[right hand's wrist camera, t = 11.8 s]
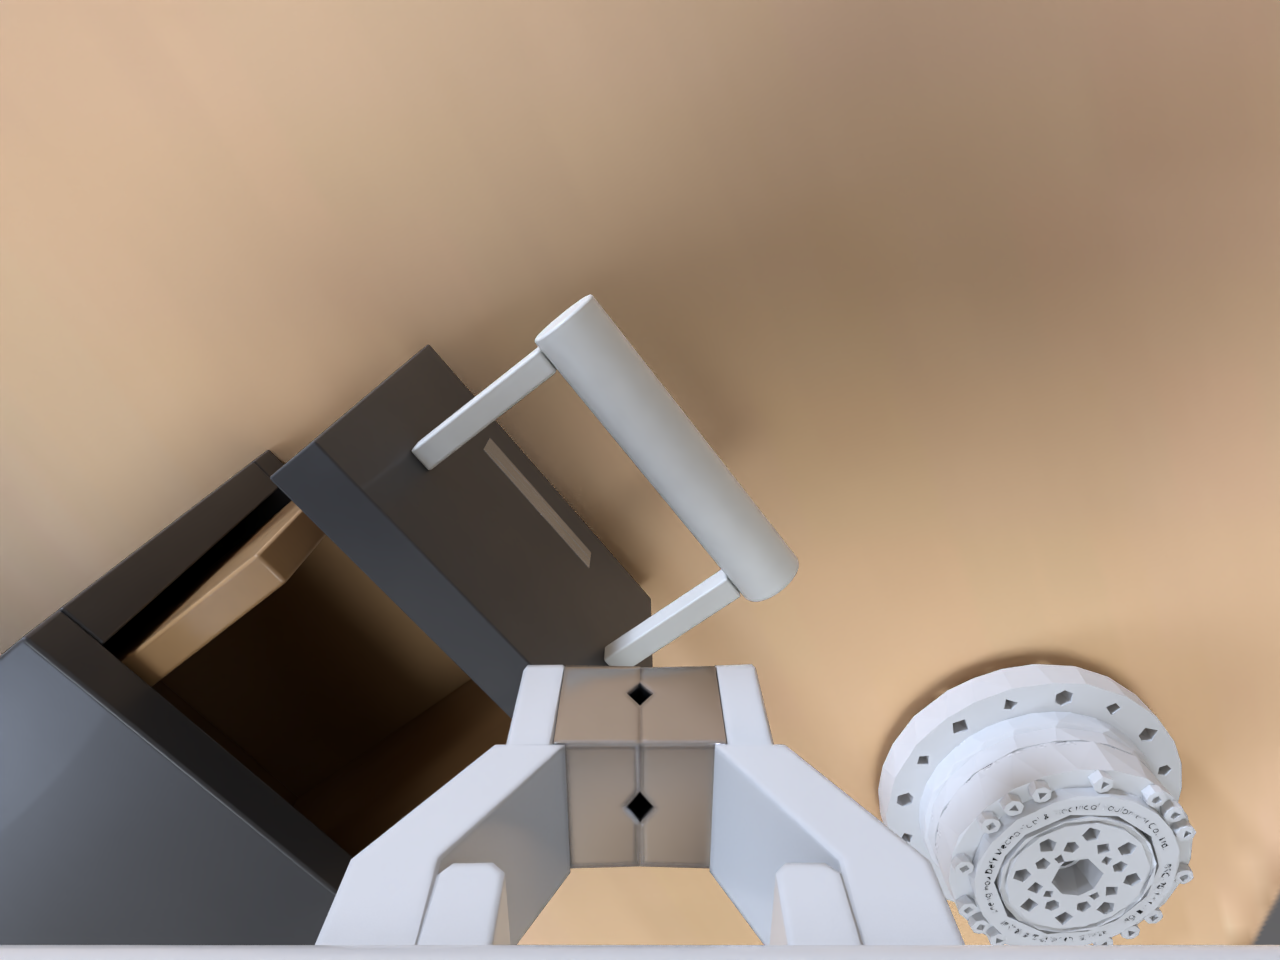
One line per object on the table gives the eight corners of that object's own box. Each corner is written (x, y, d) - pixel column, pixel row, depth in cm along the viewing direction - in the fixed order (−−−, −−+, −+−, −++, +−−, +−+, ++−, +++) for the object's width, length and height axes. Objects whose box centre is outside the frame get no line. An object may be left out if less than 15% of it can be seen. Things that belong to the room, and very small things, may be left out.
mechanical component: (819, 768, 29) (974, 919, 31) (849, 869, 25) (1025, 1033, 27) (1062, 604, 26) (1208, 783, 29) (1140, 686, 22) (1302, 886, 25)
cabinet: (268, 448, 24) (22, 636, 15) (513, 695, 28) (445, 982, 18) (-39, 705, 28) (-404, 995, 18) (212, 897, 31) (17, 1231, 21)
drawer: (573, 224, 21) (533, 259, 13) (788, 506, 24) (860, 672, 16) (100, 613, 25) (-141, 815, 18) (332, 812, 28) (215, 1061, 20)
